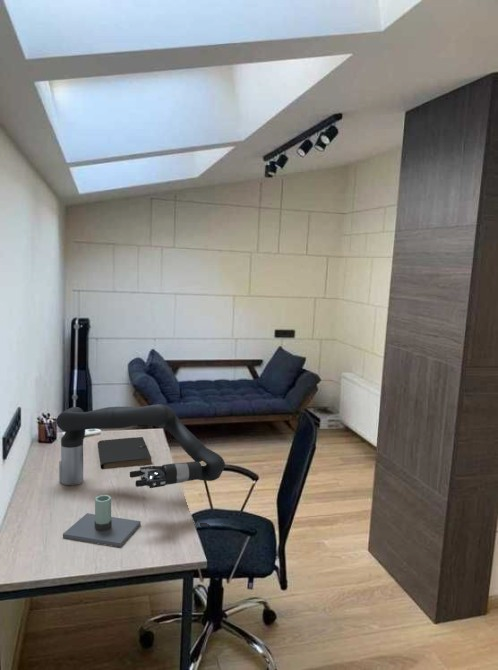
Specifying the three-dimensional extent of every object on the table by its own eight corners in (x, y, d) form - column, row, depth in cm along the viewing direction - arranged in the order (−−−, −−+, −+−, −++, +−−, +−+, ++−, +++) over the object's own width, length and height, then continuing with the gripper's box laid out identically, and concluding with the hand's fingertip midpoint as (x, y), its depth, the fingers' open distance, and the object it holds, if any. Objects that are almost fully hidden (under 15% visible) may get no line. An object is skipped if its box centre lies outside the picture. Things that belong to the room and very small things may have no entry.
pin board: (62, 537, 176) (62, 522, 175) (87, 516, 191) (87, 502, 191) (120, 547, 171) (120, 531, 171) (140, 525, 187) (140, 509, 186)
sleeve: (92, 529, 179) (92, 500, 178) (100, 522, 185) (100, 494, 183) (106, 532, 178) (106, 502, 177) (113, 524, 183) (113, 496, 182)
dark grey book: (152, 457, 245) (100, 462, 237) (152, 465, 246) (101, 470, 238) (143, 436, 276) (97, 440, 268) (143, 443, 277) (97, 447, 269)
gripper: (169, 457, 198) (128, 462, 190) (181, 471, 185) (138, 476, 178) (168, 475, 198) (127, 481, 191) (180, 490, 186) (137, 497, 179)
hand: (132, 479), depth 184 cm, fingers open, 8 cm apart
